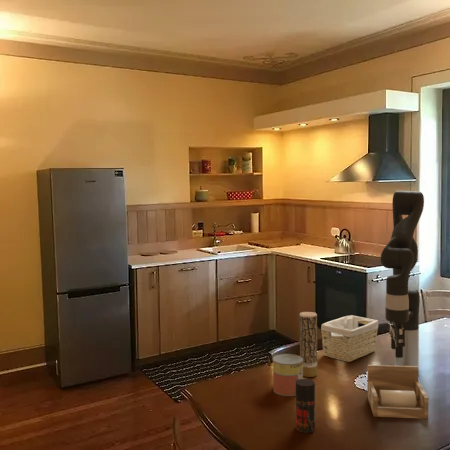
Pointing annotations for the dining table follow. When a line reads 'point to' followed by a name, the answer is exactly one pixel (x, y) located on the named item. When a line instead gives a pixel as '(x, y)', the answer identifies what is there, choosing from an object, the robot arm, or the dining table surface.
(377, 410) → the holder
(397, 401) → the white cylinder
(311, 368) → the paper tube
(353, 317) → the storage basket
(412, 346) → the robot arm
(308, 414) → the deodorant
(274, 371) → the canned food
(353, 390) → the dining table surface
